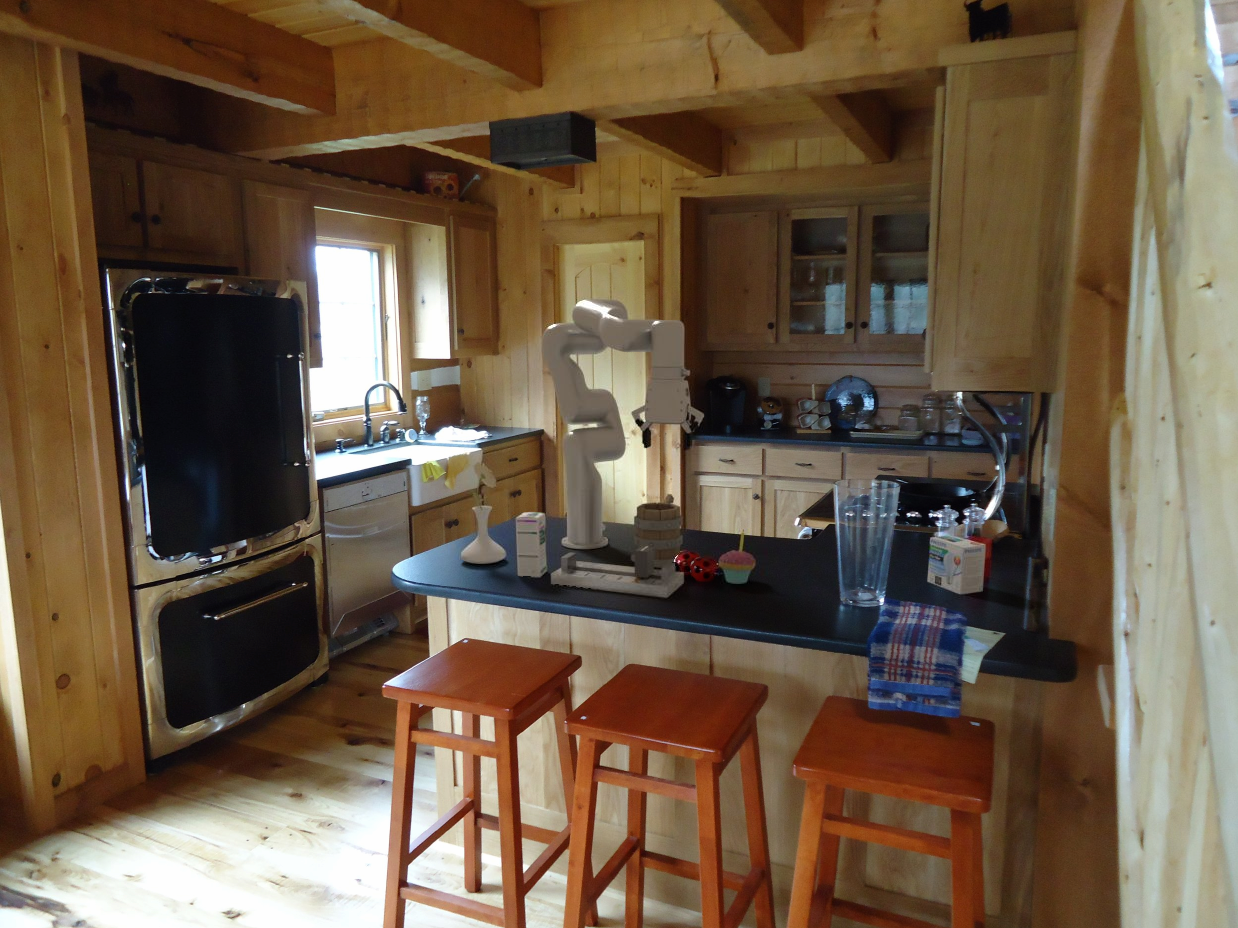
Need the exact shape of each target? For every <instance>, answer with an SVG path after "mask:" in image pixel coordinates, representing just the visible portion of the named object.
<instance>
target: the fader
mask: <svg viewBox="0 0 1238 928" xmlns="http://www.w3.org/2000/svg"><path fill="white" fill-rule="evenodd" d="M634 553H635V562H634V567H635V577H644V578H648V577H649V576H650V575H652V574H653V573H654V569H655V567H654V547H648V546H641V547H639V548H638V549H637V548H636V549H635V550H634Z"/></svg>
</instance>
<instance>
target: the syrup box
mask: <svg viewBox="0 0 1238 928" xmlns="http://www.w3.org/2000/svg"><path fill="white" fill-rule="evenodd" d="M546 522H547V521H546V513H545V512H538V511H536V512H535V511H528V512H523V513H521V514H519V515H518V516H517V517H515V531H516V533H515V534H516V535H515V536H516V537H515V538H516V540H515V541H516V564H517V565H516V566H517V576H518V577H523V576H531V577H530V578H541V577H542V576H543V575H544V574H545V573H546V572H547V571H548V559H547V558H548V554H547V527H546Z"/></svg>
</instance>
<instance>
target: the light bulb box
mask: <svg viewBox="0 0 1238 928" xmlns="http://www.w3.org/2000/svg"><path fill="white" fill-rule="evenodd" d="M986 546H987V545H986V544H985V543H980V542H979V541H978V542H977V541H973V540H971V539H968V538H963V537H960V536H957V535H953V534H947V535H941V536H932V537H930V539H929V555H928V556H929V557H928V570H927V583H929V584H932V585H935V586H937V587H940V588H942V589H945V590H947V591H949V592H953V593H955V594H959V595H966V594H972V593H981V592H983V589H984V575H985V574H984V573H985V560H986V548H987V547H986Z"/></svg>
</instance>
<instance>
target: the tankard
mask: <svg viewBox="0 0 1238 928" xmlns="http://www.w3.org/2000/svg"><path fill="white" fill-rule="evenodd" d="M674 500H675V498H674V495H672V494H670V493H667V494H666V497H665V499H664V501H663V502H648V503H647V502H646V503H642V504H640V505H638V506H637V507H636V515H635V516H634V517H633V526H634V527H636V534H634V535H633V544H634V545H635V546H636V549H638V548H639V547H641V546H648V547H654V568H656V569H657V568H660V569H662V567H664V566H665V565H666V564H667V563H672V562H673V560H674V559H675V557H676V556H677V555H678V554H679V553H683V552H682V551H681V545H683V538H684V537H683V535H682V534H681V527H682V526H683V524H684V523H683V521H684V517H683V515H681V506H680V505H677V504H675V503H674ZM630 560H631V562H634V563H635V552H632V554H630Z"/></svg>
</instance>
